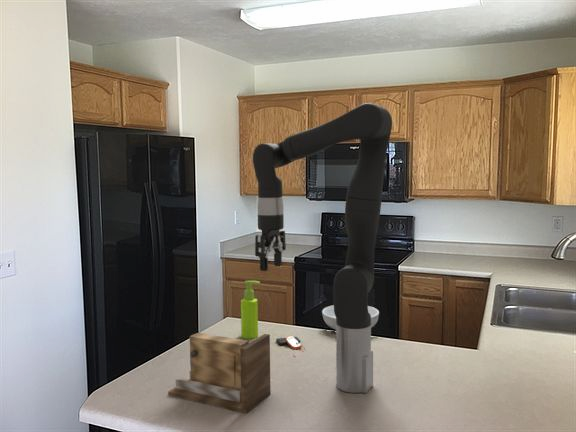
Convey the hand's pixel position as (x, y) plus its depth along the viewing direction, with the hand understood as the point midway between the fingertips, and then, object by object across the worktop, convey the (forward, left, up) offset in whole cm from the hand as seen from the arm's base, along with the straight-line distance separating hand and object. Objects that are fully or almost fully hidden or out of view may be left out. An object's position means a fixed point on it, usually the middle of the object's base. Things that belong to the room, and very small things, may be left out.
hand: (271, 268), depth 150 cm
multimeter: (0, -19, -31) cm, 36 cm away
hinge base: (+4, +22, -30) cm, 37 cm away
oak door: (+4, +22, -29) cm, 37 cm away
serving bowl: (-8, -46, -30) cm, 56 cm away
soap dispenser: (+21, -23, -30) cm, 44 cm away
